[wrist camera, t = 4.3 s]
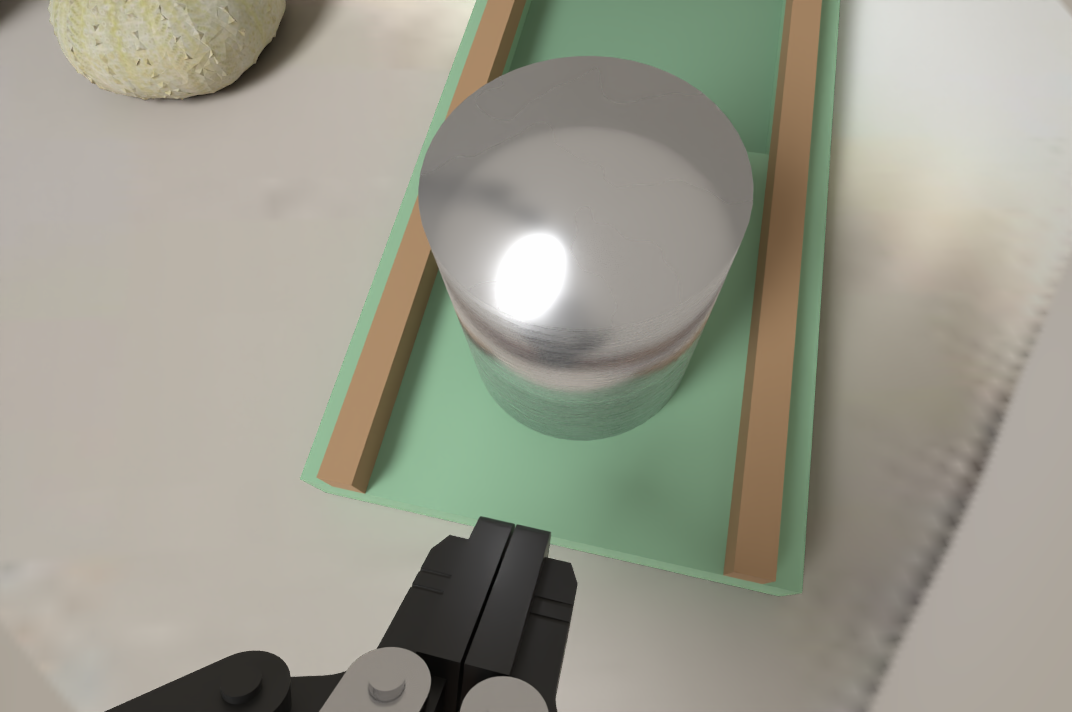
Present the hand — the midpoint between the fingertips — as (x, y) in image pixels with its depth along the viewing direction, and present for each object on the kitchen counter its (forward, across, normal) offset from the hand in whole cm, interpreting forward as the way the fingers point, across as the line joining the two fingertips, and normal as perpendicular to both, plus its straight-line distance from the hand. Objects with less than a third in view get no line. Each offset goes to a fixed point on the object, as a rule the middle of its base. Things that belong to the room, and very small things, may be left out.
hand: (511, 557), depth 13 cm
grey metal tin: (+8, 0, -2) cm, 8 cm away
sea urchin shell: (+18, +20, -9) cm, 28 cm away
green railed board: (+14, 0, -6) cm, 15 cm away
